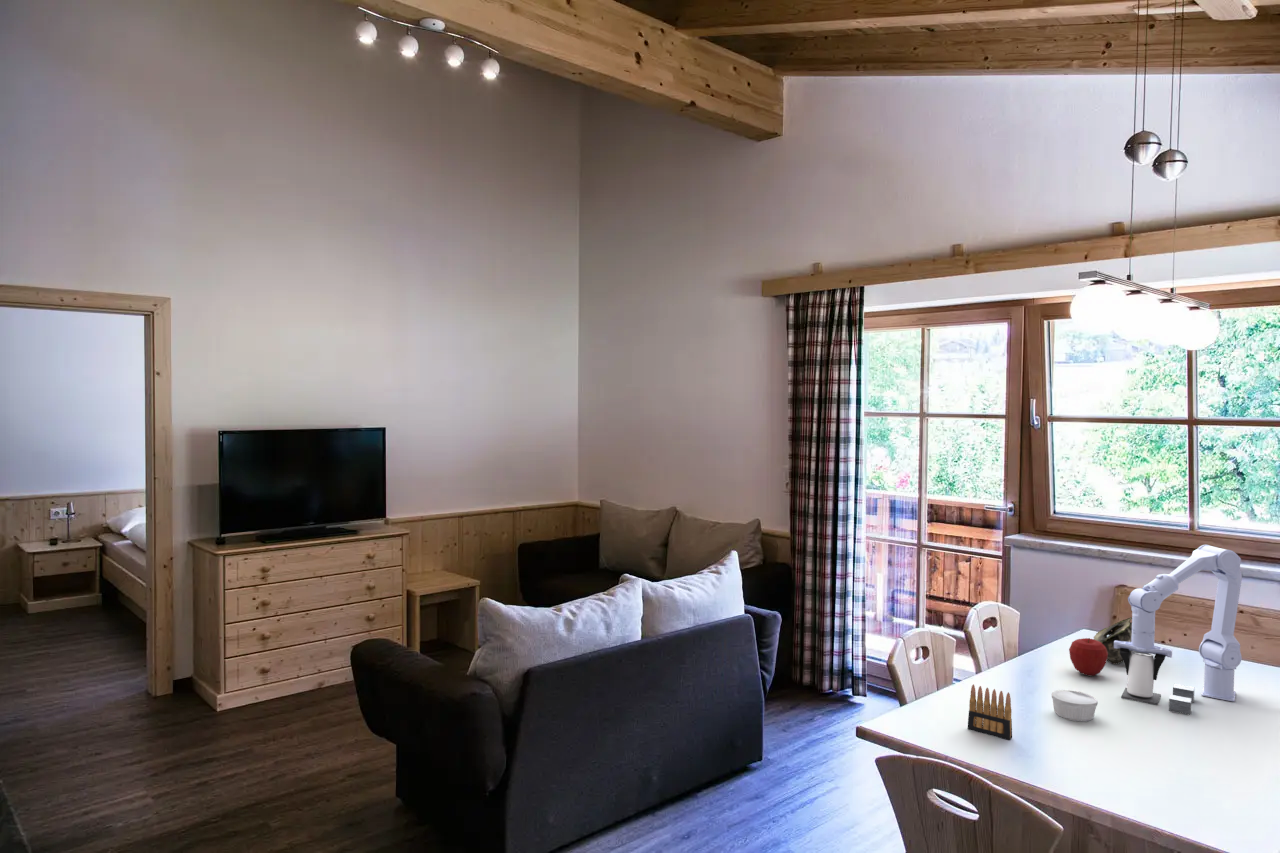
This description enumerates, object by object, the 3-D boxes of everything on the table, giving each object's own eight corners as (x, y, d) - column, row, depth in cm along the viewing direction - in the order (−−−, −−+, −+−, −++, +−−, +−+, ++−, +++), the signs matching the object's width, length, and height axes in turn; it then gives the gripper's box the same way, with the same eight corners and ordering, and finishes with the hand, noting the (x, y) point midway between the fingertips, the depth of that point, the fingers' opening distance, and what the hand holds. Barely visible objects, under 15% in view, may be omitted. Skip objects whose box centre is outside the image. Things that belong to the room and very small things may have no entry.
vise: (1174, 693, 247) (1174, 682, 247) (1194, 697, 244) (1195, 685, 244) (1168, 710, 233) (1169, 698, 233) (1190, 715, 230) (1190, 702, 230)
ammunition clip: (1012, 738, 213) (1013, 692, 213) (1010, 740, 212) (1011, 694, 211) (969, 727, 220) (970, 682, 220) (967, 729, 219) (968, 684, 218)
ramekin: (1102, 715, 229) (1102, 696, 229) (1090, 727, 221) (1091, 707, 221) (1058, 705, 237) (1058, 686, 237) (1045, 715, 229) (1046, 696, 229)
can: (1156, 699, 239) (1159, 657, 240) (1131, 696, 240) (1134, 654, 241) (1147, 693, 245) (1150, 652, 246) (1123, 690, 247) (1126, 649, 247)
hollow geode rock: (1109, 681, 271) (1147, 656, 263) (1079, 649, 276) (1115, 623, 269) (1128, 659, 292) (1164, 634, 284) (1100, 629, 297) (1134, 604, 290)
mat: (1125, 689, 250) (1125, 687, 250) (1160, 696, 245) (1160, 694, 245) (1121, 697, 243) (1121, 695, 243) (1157, 705, 237) (1157, 702, 237)
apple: (1071, 666, 271) (1072, 630, 271) (1109, 673, 265) (1110, 636, 265) (1065, 675, 262) (1066, 638, 262) (1104, 682, 256) (1105, 644, 256)
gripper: (1112, 629, 244) (1111, 675, 245) (1171, 638, 235) (1169, 685, 236) (1116, 624, 250) (1114, 668, 250) (1173, 632, 241) (1171, 679, 242)
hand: (1141, 676), depth 243 cm, fingers closed on can, 6 cm apart
